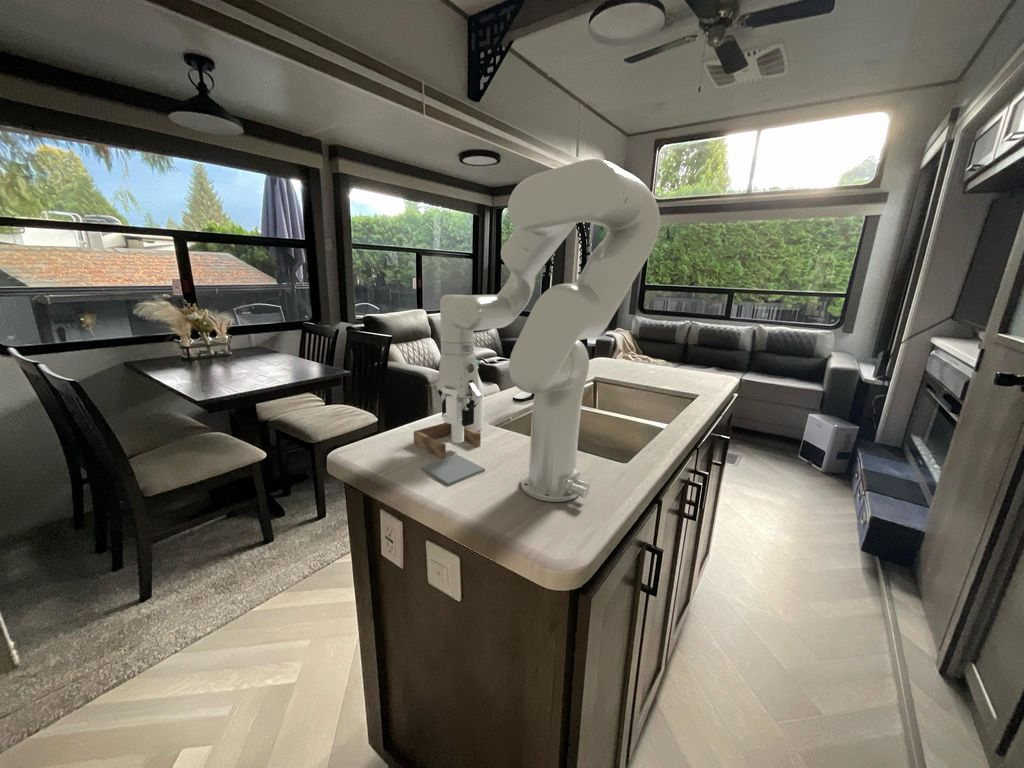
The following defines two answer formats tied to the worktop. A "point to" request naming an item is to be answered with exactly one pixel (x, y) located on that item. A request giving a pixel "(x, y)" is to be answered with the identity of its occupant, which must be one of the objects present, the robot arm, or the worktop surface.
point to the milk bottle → (478, 409)
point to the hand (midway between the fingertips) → (457, 420)
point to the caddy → (429, 435)
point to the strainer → (454, 414)
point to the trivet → (452, 469)
